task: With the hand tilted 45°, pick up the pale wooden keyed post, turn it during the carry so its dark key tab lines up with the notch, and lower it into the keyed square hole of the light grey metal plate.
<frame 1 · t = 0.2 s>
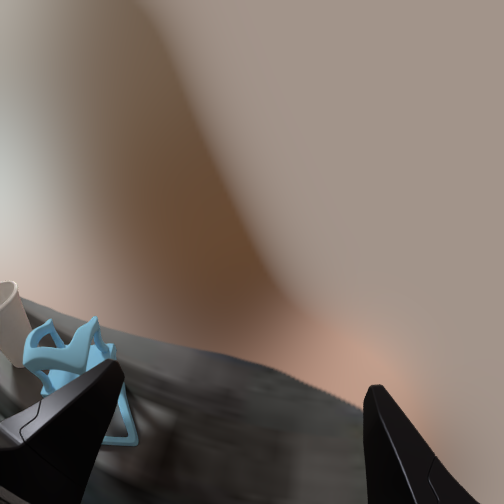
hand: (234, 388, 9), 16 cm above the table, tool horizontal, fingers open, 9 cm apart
chair: (107, 412, 23), on the table
dixie cup: (26, 355, 28), on the table
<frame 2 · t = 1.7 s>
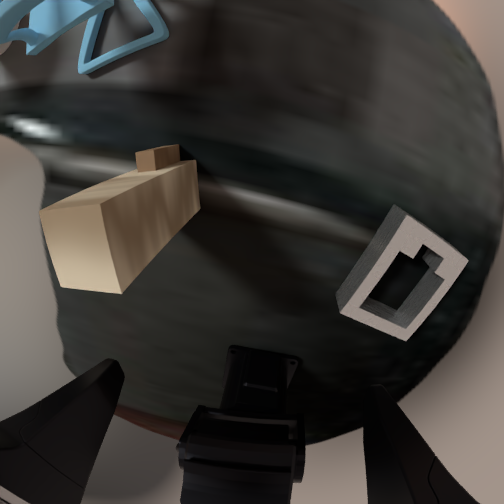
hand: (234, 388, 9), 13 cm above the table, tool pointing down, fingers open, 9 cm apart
chair: (121, 16, 14), on the table
dixie cup: (7, 33, 13), on the table
keyed post: (174, 186, 19), on the table
socket plate: (393, 276, 20), on the table
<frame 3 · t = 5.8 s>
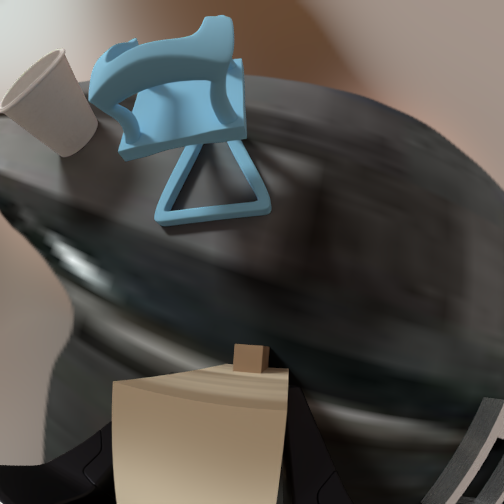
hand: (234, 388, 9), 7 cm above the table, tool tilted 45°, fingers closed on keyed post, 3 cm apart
chair: (214, 171, 20), on the table
dixie cup: (78, 137, 25), on the table
keyed post: (254, 396, 14), on the table, touching gripper
socket plate: (478, 467, 10), on the table
when the fingers open (7 cm above the table, at t = 12.5 s): keyed post stays where it is, resting in socket plate.
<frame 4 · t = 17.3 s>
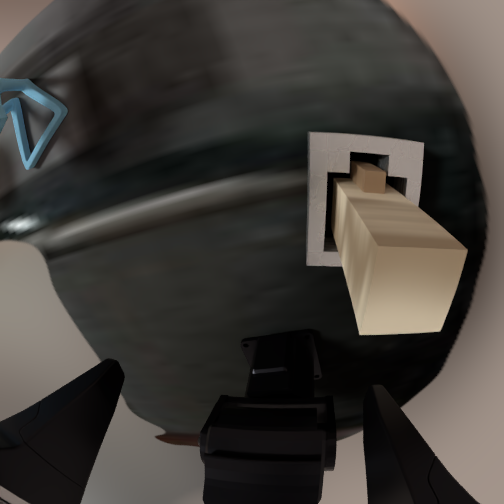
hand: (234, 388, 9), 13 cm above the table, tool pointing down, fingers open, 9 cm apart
chair: (34, 113, 18), on the table
keyed post: (357, 203, 18), resting in socket plate
socket plate: (357, 203, 18), on the table
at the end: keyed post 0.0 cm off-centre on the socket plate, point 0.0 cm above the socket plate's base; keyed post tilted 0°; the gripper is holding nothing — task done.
